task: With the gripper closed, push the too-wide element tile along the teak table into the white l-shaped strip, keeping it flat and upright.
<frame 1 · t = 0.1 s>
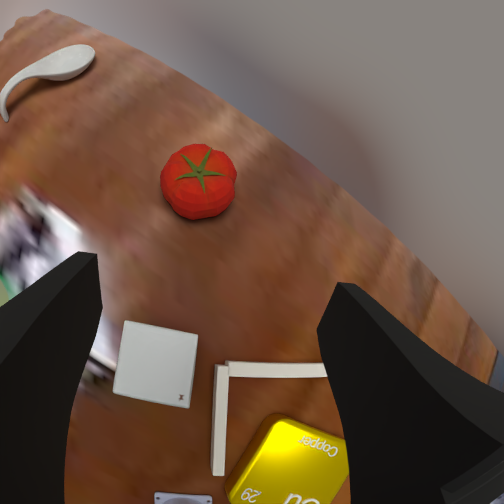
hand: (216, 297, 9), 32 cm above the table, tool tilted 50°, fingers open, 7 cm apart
white l-shaped strip: (285, 434, 37), on the table
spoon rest: (48, 86, 46), on the table
supplement box: (164, 359, 37), on the table
tomato: (196, 194, 45), on the table
element tile: (287, 467, 36), on the table
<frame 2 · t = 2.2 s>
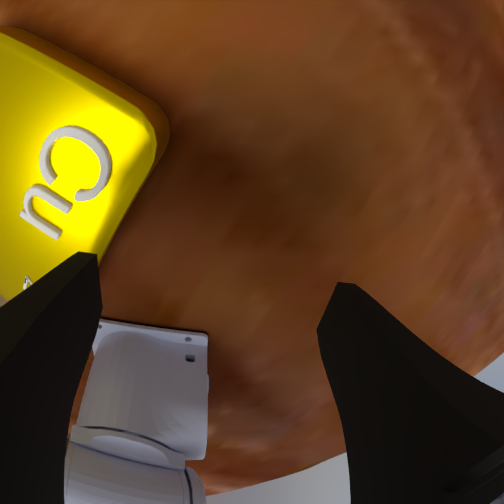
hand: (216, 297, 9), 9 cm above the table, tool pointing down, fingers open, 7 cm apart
element tile: (31, 165, 15), on the table
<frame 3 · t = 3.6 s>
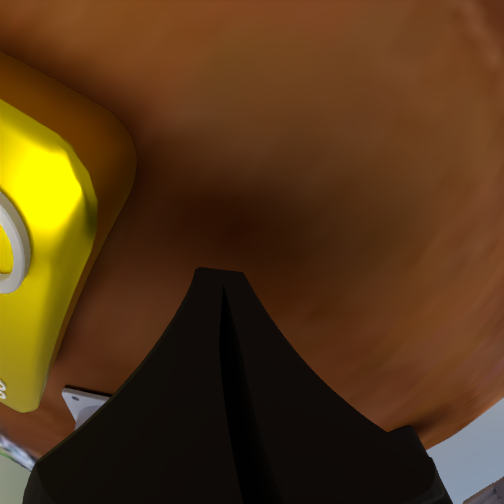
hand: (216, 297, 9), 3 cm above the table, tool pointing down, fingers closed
drinking cup: (391, 436, 25), on the table
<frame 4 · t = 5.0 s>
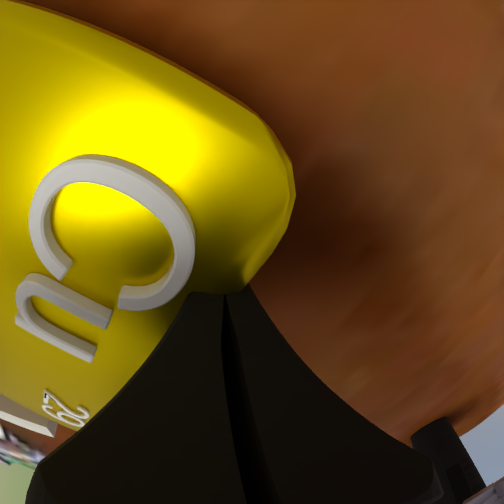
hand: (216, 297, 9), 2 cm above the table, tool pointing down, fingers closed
element tile: (25, 209, 10), on the table
drinking cup: (428, 428, 26), on the table
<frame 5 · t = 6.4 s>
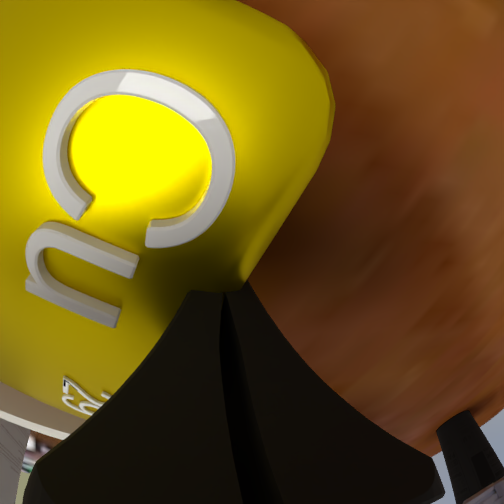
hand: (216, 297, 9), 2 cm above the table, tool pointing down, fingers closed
white l-shaped strip: (14, 248, 10), on the table
element tile: (36, 185, 9), on the table
drinking cup: (452, 420, 27), on the table
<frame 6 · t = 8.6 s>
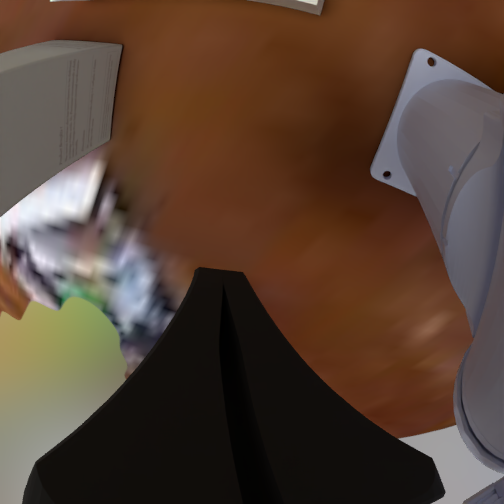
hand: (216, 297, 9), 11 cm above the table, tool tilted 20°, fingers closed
supplement box: (80, 87, 17), on the table
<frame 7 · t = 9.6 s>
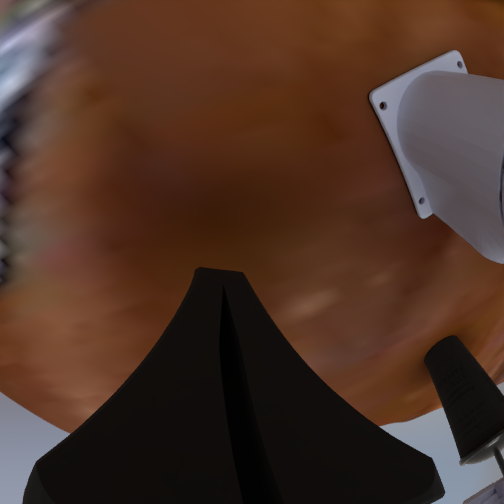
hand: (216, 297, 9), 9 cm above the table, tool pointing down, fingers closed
drinking cup: (440, 349, 29), on the table
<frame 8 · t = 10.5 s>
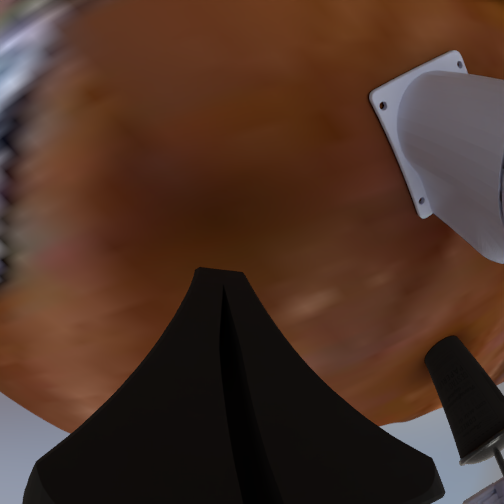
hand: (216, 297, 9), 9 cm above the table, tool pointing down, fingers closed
drinking cup: (440, 349, 29), on the table
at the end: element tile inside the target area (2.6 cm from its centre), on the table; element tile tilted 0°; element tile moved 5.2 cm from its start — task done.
